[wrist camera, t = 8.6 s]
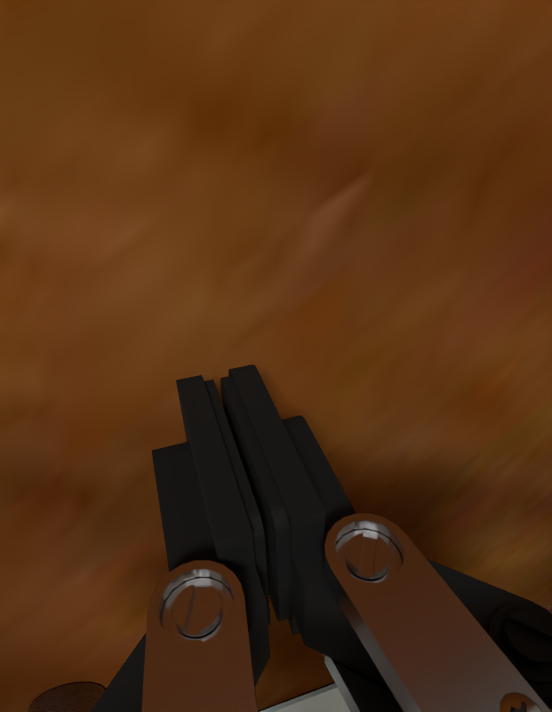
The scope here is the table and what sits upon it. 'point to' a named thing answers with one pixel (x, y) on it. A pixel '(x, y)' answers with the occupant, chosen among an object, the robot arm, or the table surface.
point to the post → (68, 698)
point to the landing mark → (314, 702)
